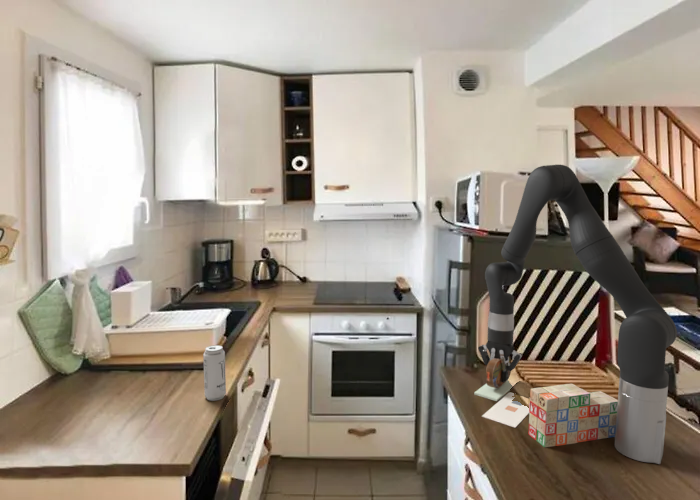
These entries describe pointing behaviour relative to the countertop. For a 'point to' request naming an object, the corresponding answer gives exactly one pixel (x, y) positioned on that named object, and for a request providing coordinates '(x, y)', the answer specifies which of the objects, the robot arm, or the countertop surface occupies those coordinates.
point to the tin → (495, 372)
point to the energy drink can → (214, 372)
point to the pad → (493, 391)
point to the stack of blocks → (570, 415)
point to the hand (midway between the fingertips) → (498, 380)
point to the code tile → (507, 411)
